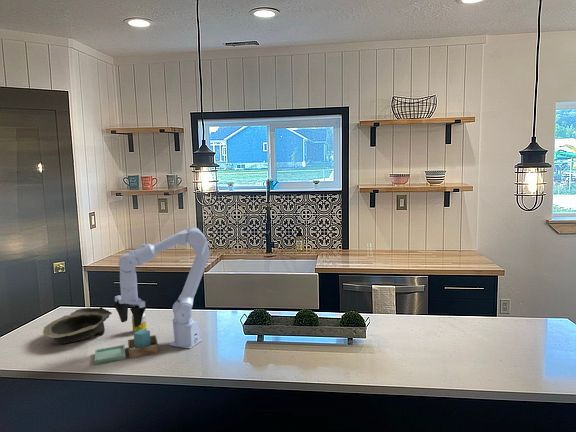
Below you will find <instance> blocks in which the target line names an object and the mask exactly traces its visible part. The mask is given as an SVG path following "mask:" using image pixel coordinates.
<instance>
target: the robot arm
mask: <svg viewBox="0 0 576 432" xmlns="http://www.w3.org/2000/svg"><path fill="white" fill-rule="evenodd" d="M187 243H188V246H190V247H191V248H192V249H193V251H194V254H195V256H194V260H193V261H192V265H191V267H190V270H189V273H188V275H187V277H186V281H185V283H184V286H183V288H182V291H181V293H180V295H179V296H178V298H177V300H176V301H175V302H174V303H173V304H172V312H173V319H172V327H173V328H172V329H173V339H174V340H173V341H172V342H170V343H169V346H171V347H178V348H184V349H192V348H193V347H194V346H196V345H197V344H199V343H200V342H202V341H203V339H202V338H201V337H202V336H201V325H200V323H199V322H198V321H195V320H194V319H193V316H192V309H193V305H194V298H195V295H196V294H197V290H198V288H199V286H200V282H201V280H202V277H203V275H204V273H205V269H206V266H207V263H208V261H209V258H210V252H211V251H210V248H209V244H208V238H207V237H206V236H205V235H204V233H203V232H202V231H201V229H199V228H198V227H197V226H195V227H194V226H191V227H188V228H187V229H183V230H180V231H179V232H177V233H175V234H173V235H170V236H169V237H167V238H165V239H163V240H161V241H159V242H156V243H155V244H151V243H143V244H141V247H138V248H137V249H133V250H132V249H131V250H129V251H128V252H127V253H123V254H122V255H121V256H120V258H119V260H118V267H119V287H120V288H119V289H120V295H116V296H114V302H116V303H114V304H113V307H114V308H115V310H116V311H117V314H118V316H119V319H120V322H121V323H125V322H128V319H129V317H128V316H129V315H128V312H129V311H130V312H131V314H132V315H133V318H134V325H135V326H139V325H141V321H142V316H143V313H145V311H146V309H147V305H146V301H145V300H142V298H140V297H139V296H138V295H139V294H138V293H139V292H138V291H139V290H138V277H137V276H138V275H137V272H136V267H137V266H142V265H143V264H146V263H147V262H149V261H152V260H153V259H156V258H157V254H159V253H161V252H164V251H166V250H168V249H169V248H170V249H171V248H173V247H175V246H177V245H180V246H181V245H182V246H187ZM129 305H130V306H132V307H129ZM128 310H129V311H128Z"/></svg>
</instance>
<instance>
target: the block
mask: <svg viewBox="0 0 576 432" xmlns="http://www.w3.org/2000/svg"><path fill="white" fill-rule="evenodd" d="M150 336H151V330H148V329H147V330H142V329H141V330H139V331H137V332H135V333H134V332H133V339H134V343H135V347H134V349H135V348H140V347H146V346H151V345H152V344H151V339H150Z"/></svg>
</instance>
